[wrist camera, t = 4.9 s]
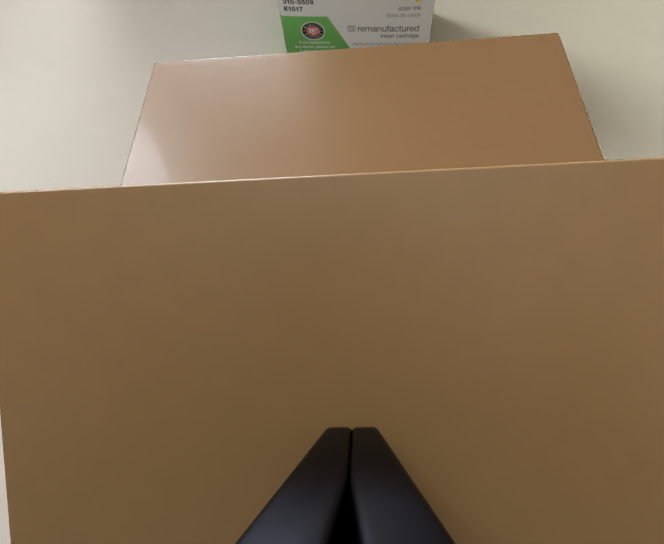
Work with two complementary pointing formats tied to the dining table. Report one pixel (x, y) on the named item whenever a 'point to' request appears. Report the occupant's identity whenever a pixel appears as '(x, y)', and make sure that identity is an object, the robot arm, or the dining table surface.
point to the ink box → (354, 23)
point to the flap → (337, 349)
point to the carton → (362, 112)
